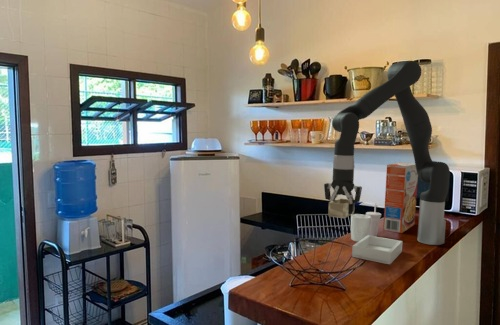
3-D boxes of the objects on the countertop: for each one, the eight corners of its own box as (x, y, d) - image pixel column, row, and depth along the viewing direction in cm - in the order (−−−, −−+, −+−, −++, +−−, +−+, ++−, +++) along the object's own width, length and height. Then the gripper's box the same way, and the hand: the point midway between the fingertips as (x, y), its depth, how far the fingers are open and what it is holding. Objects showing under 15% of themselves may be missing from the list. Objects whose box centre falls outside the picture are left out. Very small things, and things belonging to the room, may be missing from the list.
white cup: (345, 238, 162) (347, 214, 161) (361, 236, 165) (362, 213, 165) (358, 243, 155) (359, 218, 154) (373, 241, 158) (375, 217, 157)
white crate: (367, 245, 153) (367, 235, 153) (401, 251, 146) (402, 241, 146) (352, 256, 138) (352, 245, 138) (389, 264, 131) (390, 252, 131)
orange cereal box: (401, 233, 173) (405, 166, 171) (383, 230, 178) (387, 164, 176) (414, 224, 192) (418, 163, 189) (397, 221, 196) (401, 162, 194)
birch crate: (338, 211, 151) (339, 198, 151) (354, 213, 148) (354, 200, 147) (328, 216, 142) (328, 202, 141) (344, 218, 139) (344, 204, 138)
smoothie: (380, 238, 164) (382, 205, 163) (365, 236, 165) (367, 204, 164) (379, 234, 170) (381, 202, 169) (363, 233, 172) (365, 201, 171)
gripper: (321, 166, 144) (319, 211, 146) (359, 169, 136) (357, 217, 138) (328, 165, 150) (327, 208, 152) (366, 168, 143) (363, 213, 144)
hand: (341, 212), depth 145 cm, fingers closed on birch crate, 6 cm apart
